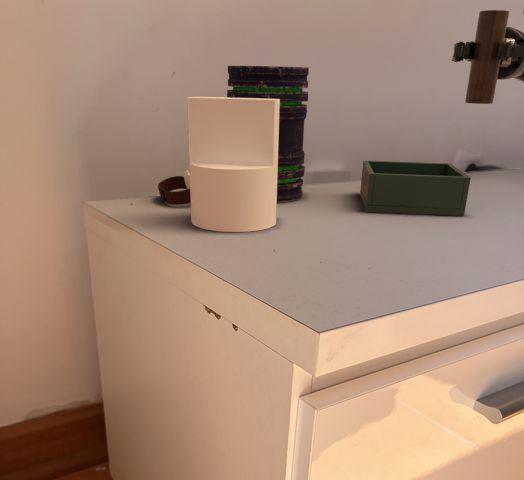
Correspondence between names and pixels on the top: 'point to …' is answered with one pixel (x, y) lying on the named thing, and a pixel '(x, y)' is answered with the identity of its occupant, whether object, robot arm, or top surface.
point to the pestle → (486, 56)
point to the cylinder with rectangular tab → (233, 162)
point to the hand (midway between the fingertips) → (483, 50)
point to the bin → (414, 188)
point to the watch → (174, 184)
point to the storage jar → (290, 116)
